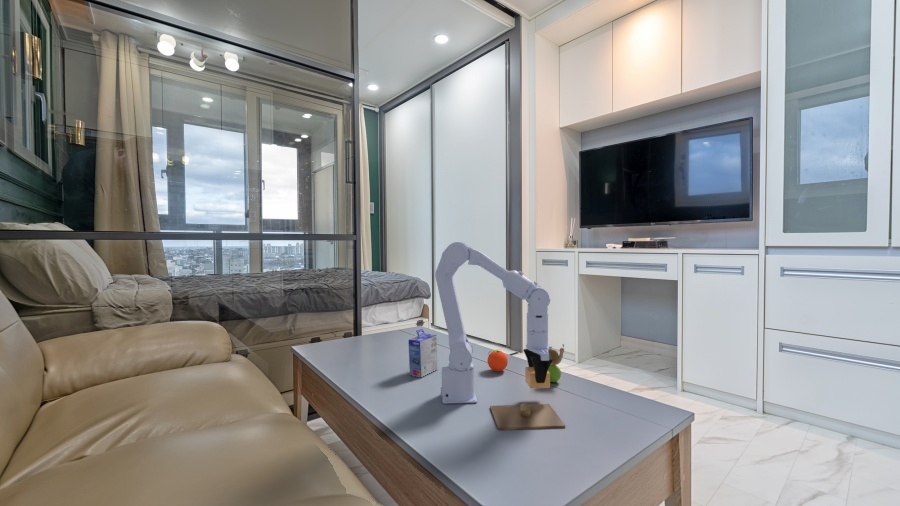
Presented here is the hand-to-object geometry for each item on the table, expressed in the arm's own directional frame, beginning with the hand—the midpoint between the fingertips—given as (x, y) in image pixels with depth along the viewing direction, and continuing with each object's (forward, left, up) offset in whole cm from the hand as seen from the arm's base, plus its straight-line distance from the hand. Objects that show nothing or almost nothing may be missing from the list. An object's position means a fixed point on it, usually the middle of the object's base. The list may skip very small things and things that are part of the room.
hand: (537, 378), depth 105 cm
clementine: (-7, +25, -6) cm, 27 cm away
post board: (-6, -10, -6) cm, 13 cm away
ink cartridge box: (-32, +25, -6) cm, 41 cm away
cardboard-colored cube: (0, 0, -2) cm, 2 cm away
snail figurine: (+9, +13, -6) cm, 17 cm away
